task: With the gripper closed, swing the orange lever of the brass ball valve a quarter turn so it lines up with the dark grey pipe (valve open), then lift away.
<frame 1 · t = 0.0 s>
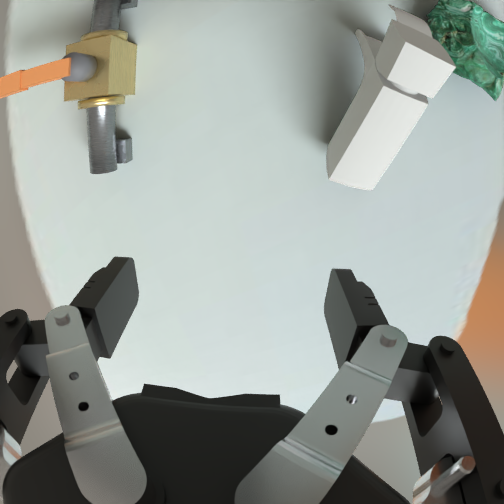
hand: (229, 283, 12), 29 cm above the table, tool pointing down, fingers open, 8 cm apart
faucet: (359, 99, 35), on the table
mineral: (464, 48, 29), on the table
valve: (115, 72, 33), on the table
lever: (31, 79, 24), point 10 cm above the table, hinge at 0.0°
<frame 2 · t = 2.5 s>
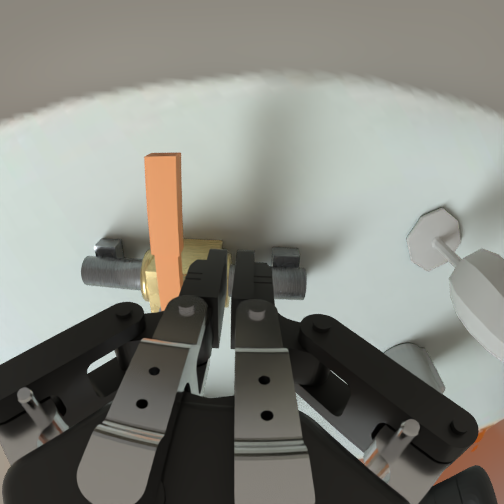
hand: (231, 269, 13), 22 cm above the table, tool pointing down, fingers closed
wineglass: (432, 238, 37), on the table
valve: (194, 261, 38), on the table
lever: (170, 249, 26), point 10 cm above the table, hinge at 0.0°
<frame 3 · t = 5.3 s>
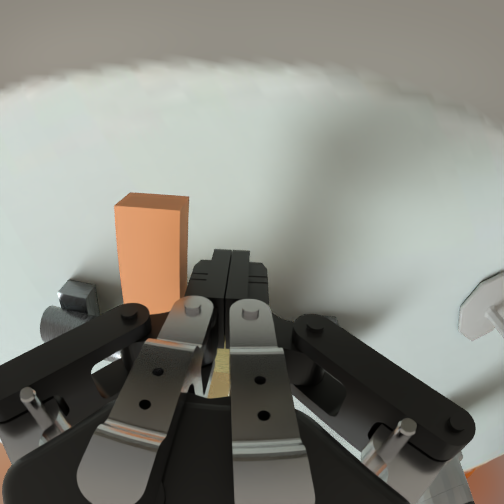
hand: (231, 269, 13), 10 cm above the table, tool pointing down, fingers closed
wineglass: (484, 304, 27), on the table
valve: (194, 323, 27), on the table
lever: (166, 348, 15), point 10 cm above the table, hinge at 2.1°, touching gripper
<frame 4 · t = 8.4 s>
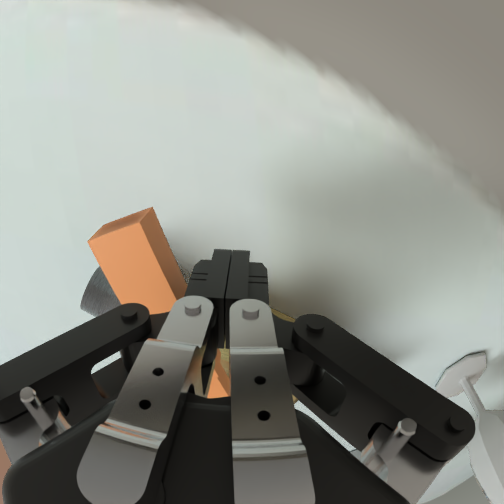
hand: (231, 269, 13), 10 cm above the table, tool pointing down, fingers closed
wineglass: (459, 373, 33), on the table
valve: (243, 326, 27), on the table
lever: (201, 358, 16), point 10 cm above the table, hinge at 47.1°, touching gripper
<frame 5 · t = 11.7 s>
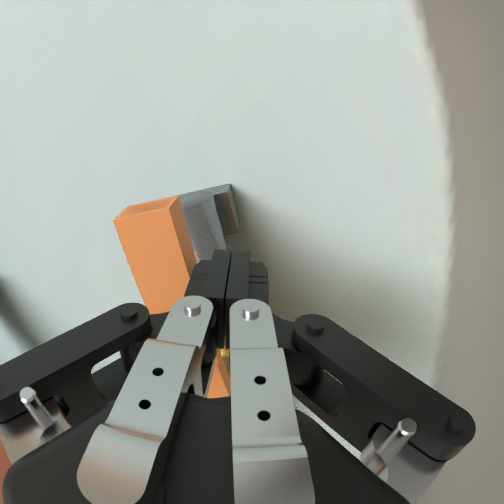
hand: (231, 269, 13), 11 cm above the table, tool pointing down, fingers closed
valve: (236, 320, 28), on the table
lever: (202, 344, 16), point 10 cm above the table, hinge at 87.9°
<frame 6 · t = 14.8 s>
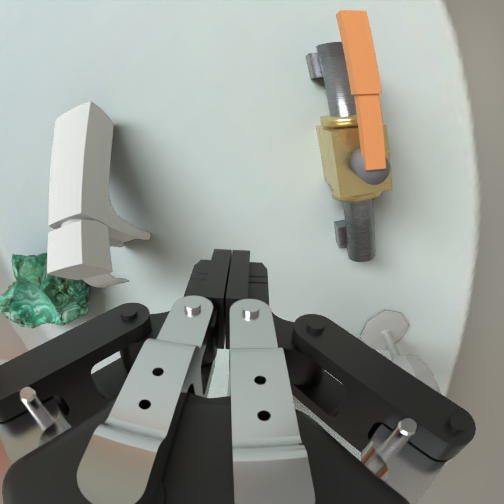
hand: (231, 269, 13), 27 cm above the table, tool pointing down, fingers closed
faucet: (113, 179, 39), on the table
mineral: (56, 276, 46), on the table
wineglass: (383, 328, 50), on the table
valve: (343, 149, 37), on the table
lever: (363, 97, 25), point 10 cm above the table, hinge at 88.0°
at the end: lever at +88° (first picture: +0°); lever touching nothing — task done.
